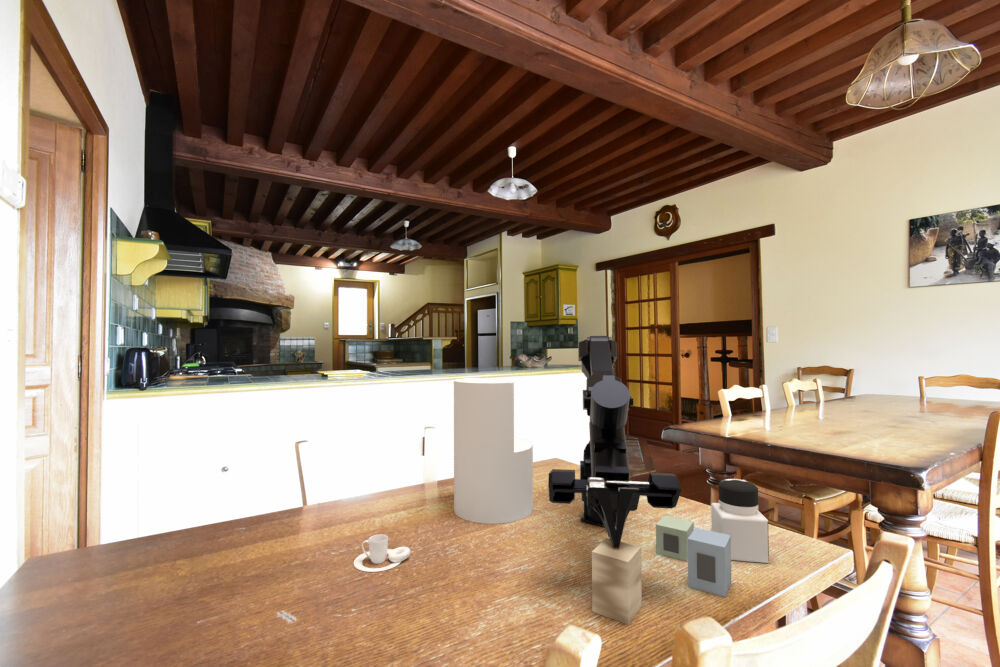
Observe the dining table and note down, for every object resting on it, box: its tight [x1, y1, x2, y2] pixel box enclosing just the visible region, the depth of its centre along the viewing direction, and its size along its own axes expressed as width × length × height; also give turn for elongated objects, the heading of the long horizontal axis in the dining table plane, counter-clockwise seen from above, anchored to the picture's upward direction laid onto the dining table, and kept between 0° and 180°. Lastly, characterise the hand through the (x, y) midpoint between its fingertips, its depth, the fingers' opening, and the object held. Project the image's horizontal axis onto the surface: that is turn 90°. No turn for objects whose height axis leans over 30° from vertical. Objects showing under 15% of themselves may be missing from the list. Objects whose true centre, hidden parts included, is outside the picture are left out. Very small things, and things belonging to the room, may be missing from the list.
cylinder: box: [453, 377, 534, 525], centre depth 100 cm, size 17×17×28 cm
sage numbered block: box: [655, 515, 695, 562], centre depth 78 cm, size 5×5×5 cm
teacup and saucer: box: [353, 533, 411, 573], centre depth 75 cm, size 9×8×4 cm
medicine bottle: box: [710, 478, 770, 564], centre depth 78 cm, size 7×7×12 cm
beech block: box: [591, 537, 643, 626], centre depth 61 cm, size 5×5×8 cm
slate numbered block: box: [687, 527, 732, 598], centre depth 68 cm, size 5×5×7 cm
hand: (616, 546), depth 62 cm, fingers closed, pressing on beech block
